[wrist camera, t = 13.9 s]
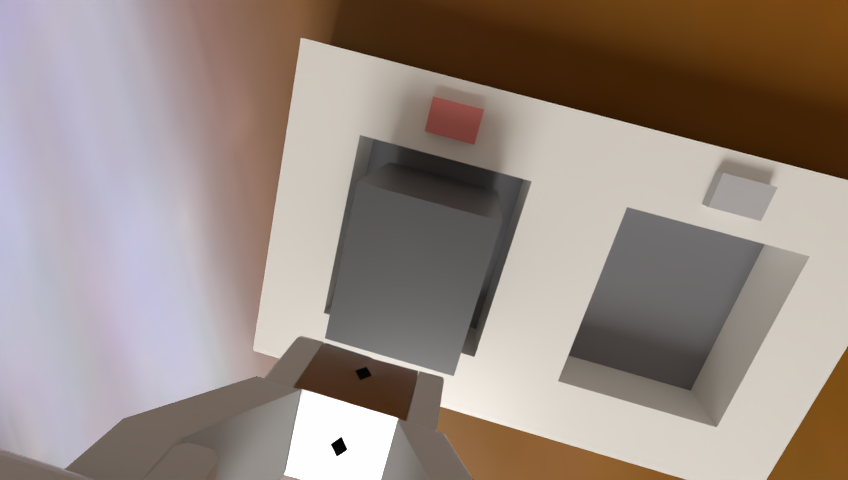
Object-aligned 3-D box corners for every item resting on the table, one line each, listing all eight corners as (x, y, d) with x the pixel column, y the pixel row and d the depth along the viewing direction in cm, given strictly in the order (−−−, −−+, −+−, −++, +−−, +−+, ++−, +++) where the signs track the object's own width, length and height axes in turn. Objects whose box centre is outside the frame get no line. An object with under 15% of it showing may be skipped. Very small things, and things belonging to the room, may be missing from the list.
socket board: (863, 187, 18) (949, 205, 15) (719, 448, 22) (760, 509, 19) (328, 47, 19) (295, 35, 16) (281, 320, 23) (247, 356, 20)
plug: (497, 187, 19) (502, 221, 14) (462, 302, 21) (453, 376, 15) (394, 159, 20) (357, 181, 14) (367, 275, 21) (324, 338, 16)
